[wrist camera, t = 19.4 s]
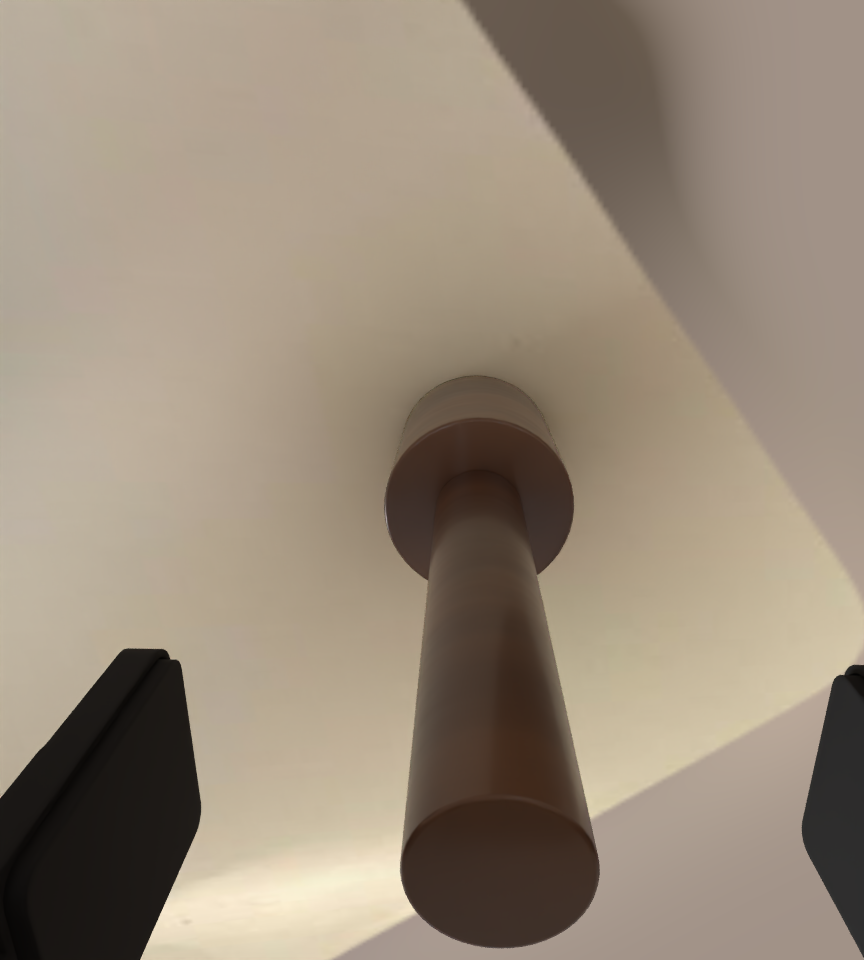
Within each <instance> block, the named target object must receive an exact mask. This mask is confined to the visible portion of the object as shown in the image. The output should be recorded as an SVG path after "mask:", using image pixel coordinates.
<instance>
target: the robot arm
mask: <svg viewBox="0 0 864 960" xmlns="http://www.w3.org/2000/svg"><path fill="white" fill-rule="evenodd" d="M200 816H201V800H200V793H199V786H198V779H197V772H196V765H195V758H194V751H193V744H192V737H191V730H190V723H189V716H188V709H187V702H186V695H185V688H184V681H183V675H182V668H181V664H180V662H179V661H178V660H170V657H169V654H168V653H167V651H166V650H164V649H129V648H128V649H124V650H122V651H121V652H120V653H119V654H118V655H117V657H116V658H115V659H114V660H113V662H112V663H111V664H110V665H109V667H108V668H107V669H106V670H105V672H104V673H103V674H102V675H101V677H100V678H99V679H98V680H97V682H96V683H95V684H94V685H93V687H92V688H91V689H90V690H89V691H88V693H87V694H86V695H85V696H84V698H83V699H82V700H81V701H80V703H79V704H78V705H77V706H76V708H75V709H74V710H73V711H72V713H71V714H70V715H69V716H68V718H67V719H66V720H65V721H64V723H63V724H62V725H61V726H60V728H59V729H58V730H57V731H56V732H55V734H54V735H53V736H52V737H51V739H50V740H49V741H48V742H47V744H46V745H45V746H44V747H43V748H41V749H40V750H39V751H38V753H37V754H36V755H35V756H34V757H33V759H32V760H31V761H30V762H29V764H28V765H27V766H26V767H25V769H24V770H23V771H22V772H21V774H20V775H19V776H18V777H17V778H16V780H15V781H14V782H13V783H12V785H11V786H10V787H9V788H8V790H7V791H6V792H5V793H4V795H3V796H2V797H1V798H0V960H140V959H141V956H142V954H143V952H144V949H145V947H146V945H147V943H148V940H149V938H150V936H151V934H152V931H153V929H154V927H155V925H156V922H157V920H158V918H159V916H160V913H161V911H162V909H163V907H164V904H165V902H166V900H167V898H168V895H169V893H170V891H171V889H172V886H173V884H174V882H175V880H176V877H177V875H178V873H179V870H180V868H181V866H182V864H183V861H184V859H185V857H186V855H187V852H188V850H189V848H190V846H191V843H192V841H193V839H194V837H195V834H196V832H197V829H198V826H199V822H200ZM802 836H803V842H804V845H805V848H806V851H807V853H808V855H809V857H810V859H811V861H812V862H813V864H814V866H815V868H816V870H817V871H818V874H819V875H820V877H821V879H822V881H823V883H824V885H825V887H826V888H827V890H828V892H829V894H830V896H831V898H832V900H833V901H834V903H835V905H836V907H837V909H838V911H839V913H840V914H841V916H842V918H843V920H844V922H845V924H846V925H847V927H848V929H849V931H850V933H851V935H852V937H853V938H854V940H855V942H856V944H857V946H858V948H859V950H860V952H861V953H862V955H863V957H864V665H852V666H850V667H849V668H848V669H847V670H846V672H845V675H839V676H837V677H836V678H835V679H834V681H833V684H832V688H831V693H830V697H829V702H828V707H827V711H826V716H825V720H824V725H823V730H822V734H821V739H820V743H819V748H818V752H817V757H816V761H815V766H814V771H813V775H812V780H811V784H810V789H809V793H808V798H807V803H806V807H805V812H804V816H803V821H802Z"/></svg>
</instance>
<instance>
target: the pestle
mask: <svg viewBox="0 0 864 960" xmlns="http://www.w3.org/2000/svg"><path fill="white" fill-rule="evenodd" d="M384 512H385V521H386V525H387V529H388V532H389V535H390V537H391V540H392V542H393V544H394V546H395V548H396V549H397V551H398V553H399V554H400V555H401V557H402V558H403V559H404V561H405V562H406V563H407V564H408V565H409V566H410V567H411V568H412V569H413V570H414V571H416V572H417V573H418V574H419V575H421V576H422V577H423V578H425V579H427V580H428V588H427V598H426V609H425V619H424V629H423V639H422V649H421V659H420V669H419V679H418V689H417V699H416V710H415V720H414V730H413V740H412V750H411V760H410V770H409V780H408V790H407V800H406V811H405V821H404V831H403V841H402V851H401V861H400V874H401V881H402V884H403V888H404V891H405V893H406V895H407V898H408V900H409V902H410V903H411V905H412V906H413V908H414V909H415V911H416V912H417V913H418V914H419V915H420V916H421V917H422V919H423V920H425V921H426V922H427V923H428V924H429V925H431V926H432V927H433V928H435V929H436V930H438V931H439V932H441V933H443V934H445V935H447V936H448V937H450V938H453V939H455V940H458V941H461V942H464V943H467V944H471V945H475V946H481V947H487V948H514V947H523V946H528V945H532V944H536V943H539V942H542V941H545V940H547V939H549V938H552V937H554V936H556V935H558V934H560V933H561V932H563V931H565V930H566V929H568V928H569V927H570V926H571V925H572V924H574V923H575V922H576V921H577V920H578V919H579V918H580V917H581V916H582V915H583V914H584V913H585V911H586V909H588V907H589V905H590V904H591V902H592V900H593V898H594V895H595V892H596V889H597V886H598V881H599V875H600V872H599V871H600V869H599V860H598V854H597V850H596V845H595V841H594V836H593V831H592V827H591V822H590V817H589V813H588V808H587V803H586V799H585V794H584V790H583V785H582V780H581V776H580V771H579V767H578V762H577V757H576V753H575V748H574V743H573V739H572V734H571V730H570V725H569V720H568V716H567V711H566V706H565V702H564V697H563V693H562V688H561V683H560V679H559V674H558V670H557V665H556V660H555V656H554V651H553V646H552V642H551V637H550V633H549V628H548V623H547V619H546V614H545V609H544V605H543V600H542V596H541V591H540V586H539V582H538V577H537V575H538V574H539V573H541V572H542V571H543V570H544V569H545V568H546V567H547V566H548V565H549V564H550V563H551V562H552V561H553V560H554V559H555V557H556V556H557V555H558V554H559V552H560V551H561V549H562V547H563V545H564V544H565V542H566V539H567V537H568V535H569V532H570V529H571V525H572V521H573V513H574V496H573V490H572V485H571V482H570V479H569V475H568V473H567V471H566V468H565V466H564V464H563V461H562V459H561V457H560V454H559V452H558V450H557V448H556V445H555V443H554V441H553V438H552V436H551V434H550V431H549V429H548V427H547V425H546V422H545V420H544V418H543V416H542V414H541V412H540V411H539V409H538V408H537V406H536V405H535V403H534V402H533V401H532V400H531V399H530V398H529V397H528V396H527V395H526V394H525V393H523V392H522V391H521V390H519V389H518V388H516V387H515V386H513V385H511V384H509V383H507V382H505V381H502V380H499V379H496V378H491V377H485V376H468V377H461V378H457V379H453V380H450V381H447V382H445V383H443V384H441V385H439V386H437V387H436V388H434V389H433V390H431V391H430V392H428V393H427V394H426V395H425V396H424V397H423V398H422V399H421V400H420V401H419V402H418V403H417V404H416V406H415V407H414V408H413V410H412V412H411V413H410V415H409V417H408V419H407V421H406V424H405V427H404V430H403V433H402V437H401V440H400V443H399V447H398V450H397V453H396V457H395V460H394V463H393V467H392V470H391V473H390V477H389V480H388V483H387V487H386V492H385V499H384Z"/></svg>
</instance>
